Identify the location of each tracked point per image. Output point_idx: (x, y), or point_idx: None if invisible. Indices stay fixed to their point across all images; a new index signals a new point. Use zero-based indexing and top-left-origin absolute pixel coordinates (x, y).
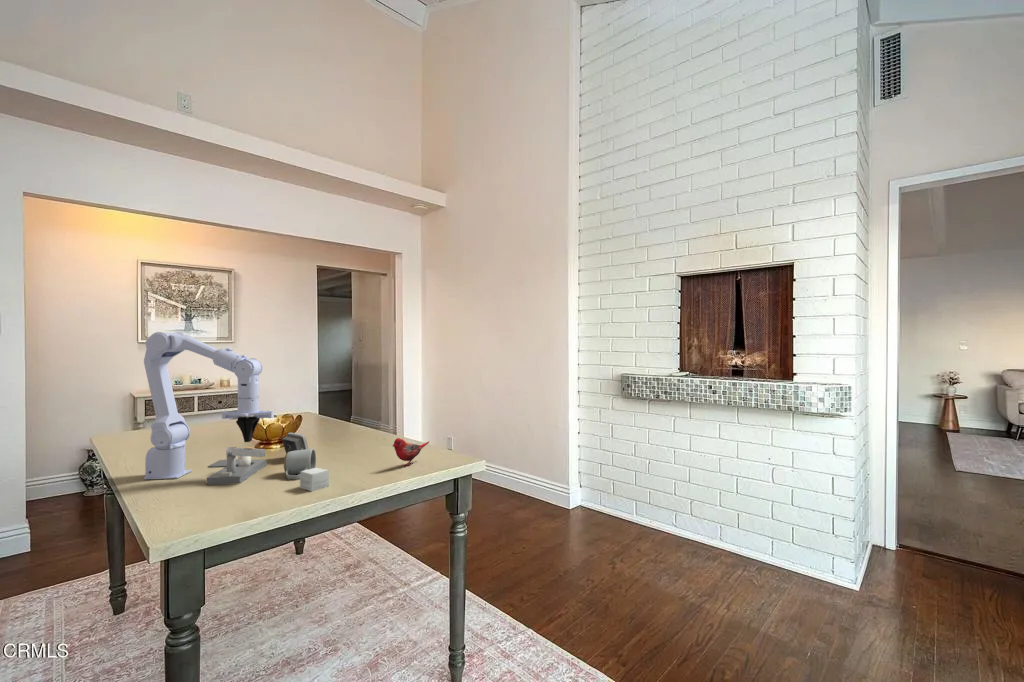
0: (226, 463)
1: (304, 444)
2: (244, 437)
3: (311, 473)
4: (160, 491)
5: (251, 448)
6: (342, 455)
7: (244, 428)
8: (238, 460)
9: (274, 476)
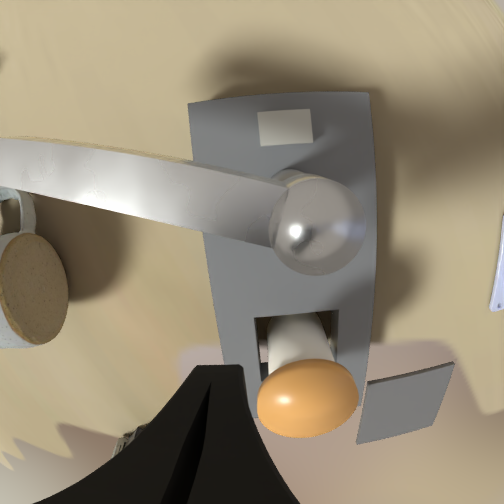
0: (403, 400)
1: None
2: (229, 393)
3: None
4: (469, 47)
5: (84, 199)
6: (67, 450)
7: (199, 485)
8: (323, 344)
9: (97, 235)
